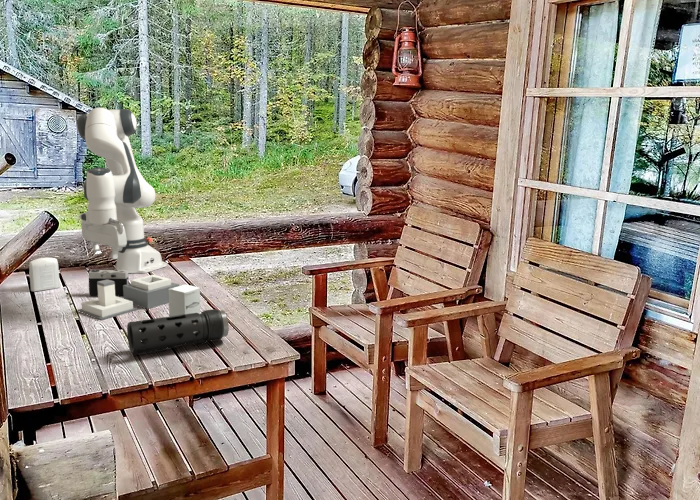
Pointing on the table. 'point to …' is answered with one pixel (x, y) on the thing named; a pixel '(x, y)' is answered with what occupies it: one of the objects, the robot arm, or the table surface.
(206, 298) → the table surface
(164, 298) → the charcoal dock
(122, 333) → the table surface
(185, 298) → the supplement box
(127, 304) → the frame
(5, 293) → the table surface
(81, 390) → the table surface
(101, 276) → the camera
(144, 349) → the muzzle brake
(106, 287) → the plug
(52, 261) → the photo printer
